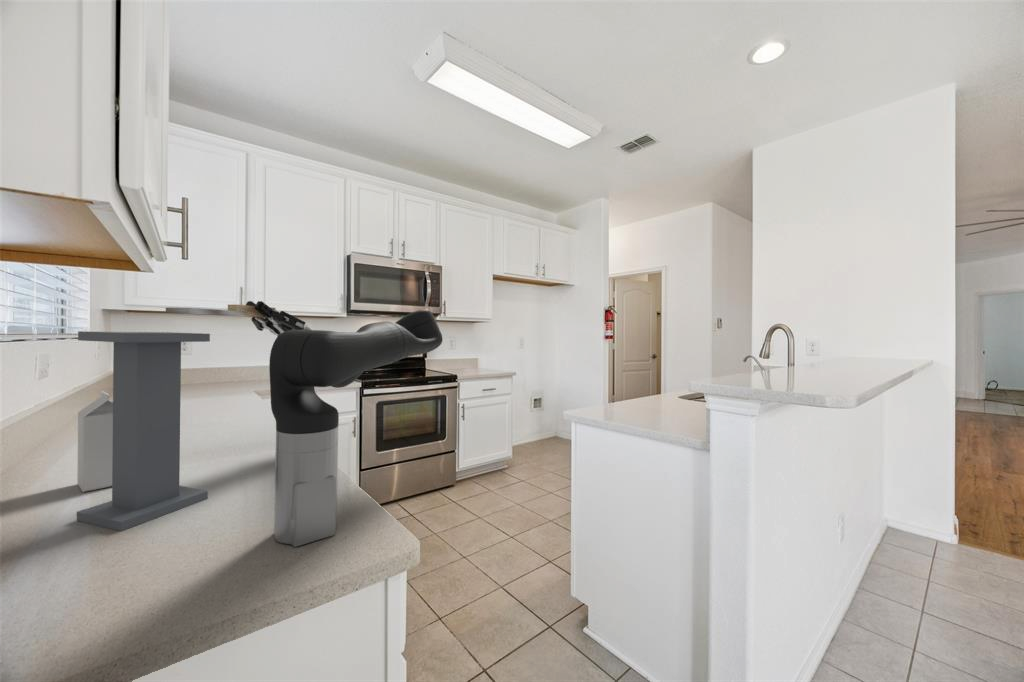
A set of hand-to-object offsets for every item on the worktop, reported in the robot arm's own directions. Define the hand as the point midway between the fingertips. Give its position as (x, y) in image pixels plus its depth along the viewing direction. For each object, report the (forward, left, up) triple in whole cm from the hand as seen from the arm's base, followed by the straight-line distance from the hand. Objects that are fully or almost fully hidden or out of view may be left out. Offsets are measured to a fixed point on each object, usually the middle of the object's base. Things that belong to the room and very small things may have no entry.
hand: (252, 304), depth 92 cm
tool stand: (-9, +18, -39) cm, 43 cm away
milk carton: (+12, +24, -39) cm, 47 cm away
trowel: (-3, +5, -3) cm, 6 cm away
